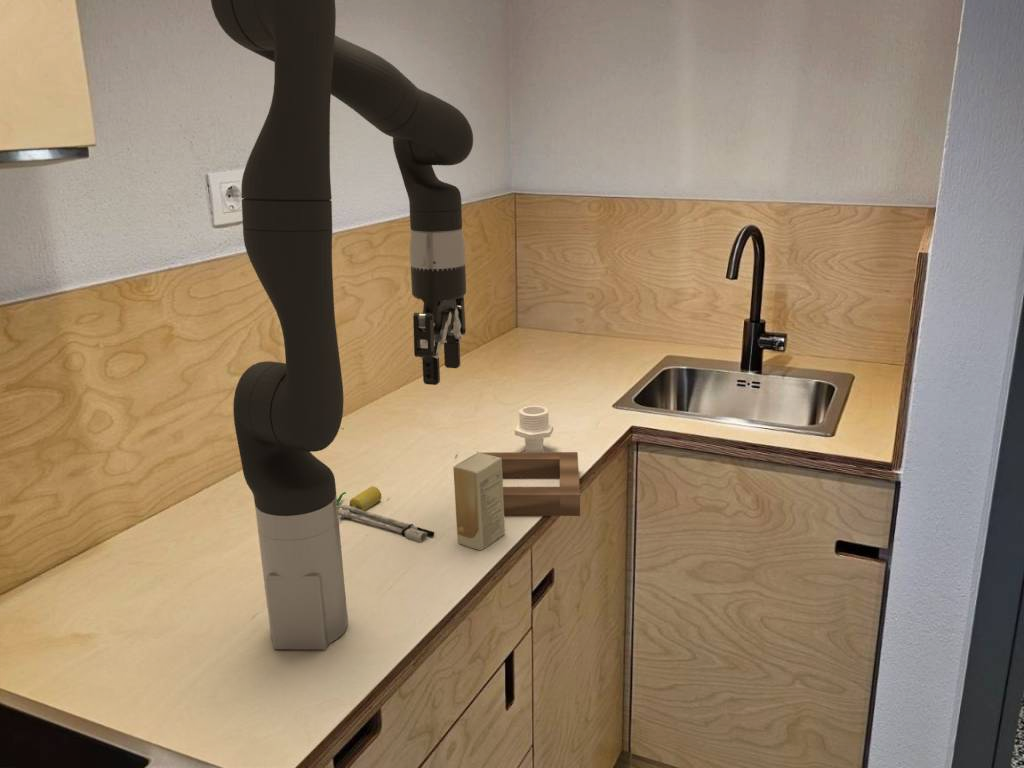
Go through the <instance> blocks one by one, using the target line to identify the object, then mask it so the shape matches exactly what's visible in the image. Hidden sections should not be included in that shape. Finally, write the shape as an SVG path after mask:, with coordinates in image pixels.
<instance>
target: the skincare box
mask: <svg viewBox="0 0 1024 768" xmlns="http://www.w3.org/2000/svg"><path fill="white" fill-rule="evenodd" d="M484 453H485V452H478V451H477V452H476V453H475V454H472V455H471V456H469V457H467V458H466V459H464V460H463V461H461V462H459V463H456V464H455V465H454V466H453V481H454V482H453V484H454V485H453V486H454V501H455V517H456V536H457V544H460V545H463V546H465V547H468V548H471V549H475V550H478V551H482V550H483V549H485V548H486V547H488V546H490V545H491V544H493V543H494V542H495V541H497V539H499V538H501V537H503V535H504V534H505V533H506V530H505V529H506V527H505V516H504V501H503V487H504V483H503V482H504V481H503V480H504V479H503V477H502V458H499V457H495V456H492V455H488V454H484Z"/></svg>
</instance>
